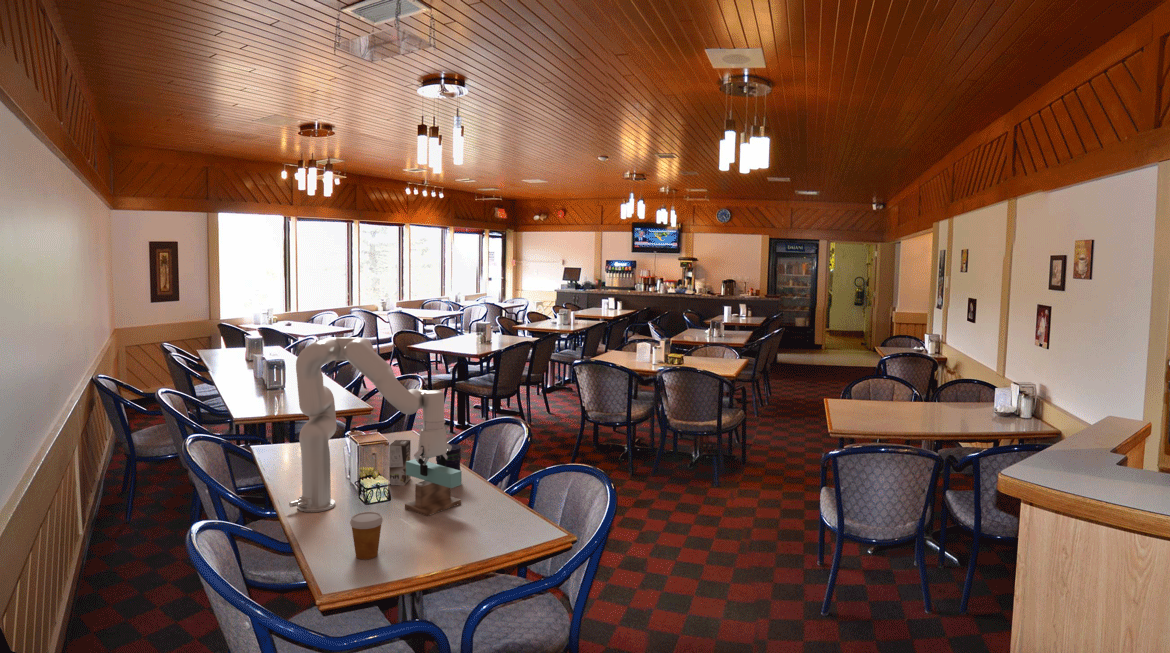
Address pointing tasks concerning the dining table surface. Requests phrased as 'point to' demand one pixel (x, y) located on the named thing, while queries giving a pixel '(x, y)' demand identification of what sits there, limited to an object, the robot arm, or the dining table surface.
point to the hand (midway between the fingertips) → (433, 472)
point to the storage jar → (453, 457)
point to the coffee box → (399, 462)
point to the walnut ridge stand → (431, 498)
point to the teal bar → (435, 473)
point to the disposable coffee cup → (366, 534)
